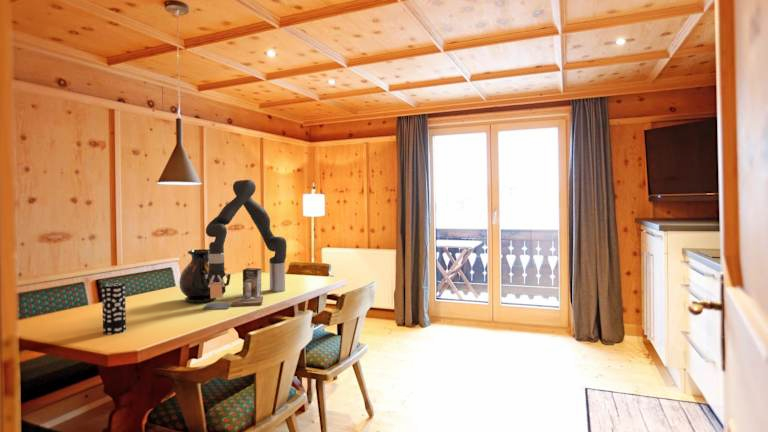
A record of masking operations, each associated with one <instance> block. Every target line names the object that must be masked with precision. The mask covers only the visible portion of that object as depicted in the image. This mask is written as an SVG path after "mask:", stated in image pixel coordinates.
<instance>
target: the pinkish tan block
mask: <svg viewBox="0 0 768 432" xmlns="http://www.w3.org/2000/svg"><path fill="white" fill-rule="evenodd" d="M222 287H223V286H222V284H221V282H216V283H212V284H210V298H216V299H217V298H219V299H220V298H221V299H222V298H223V297H224V294H222Z"/></svg>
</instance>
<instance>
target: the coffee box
mask: <svg viewBox="0 0 768 432" xmlns="http://www.w3.org/2000/svg"><path fill="white" fill-rule="evenodd" d="M245 283H251V297H262V268H257V267H256V268H255V267H254V268H253V267H246V268H243V269H242V297H245Z"/></svg>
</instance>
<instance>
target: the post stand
mask: <svg viewBox="0 0 768 432" xmlns="http://www.w3.org/2000/svg"><path fill="white" fill-rule="evenodd" d="M263 300H264V296H262V295H261V296H259V297H251V283H245V297H243V296H242V297H234V299H233V301H232V302H231V307H232V308H234V307H252V306H256V307H257V306H262V305H263Z"/></svg>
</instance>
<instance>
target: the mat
mask: <svg viewBox="0 0 768 432" xmlns="http://www.w3.org/2000/svg"><path fill="white" fill-rule="evenodd" d="M231 305H232V302H214V303H213V302H212V303H210V302H209V303H206V304H205V305H204V307H203V308H202V311H215V310H216V311H217V310H229V307H230V306H231Z"/></svg>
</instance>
